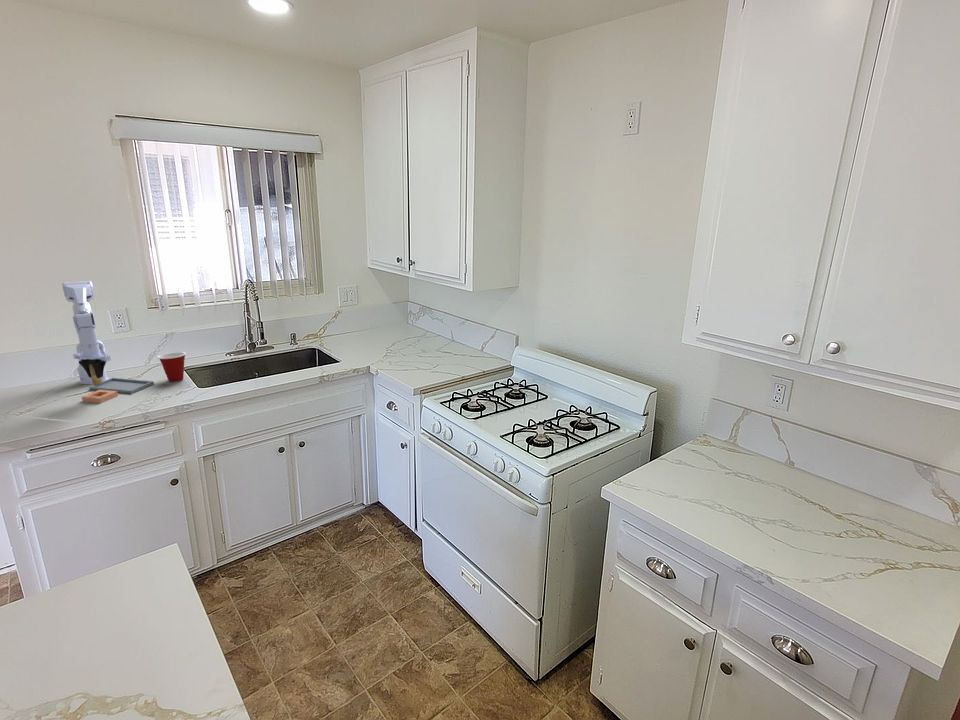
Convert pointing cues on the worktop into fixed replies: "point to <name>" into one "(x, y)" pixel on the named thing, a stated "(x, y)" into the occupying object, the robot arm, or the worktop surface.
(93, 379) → the dowel pin
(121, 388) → the tray
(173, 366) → the plastic cup
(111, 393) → the orange square hole block
